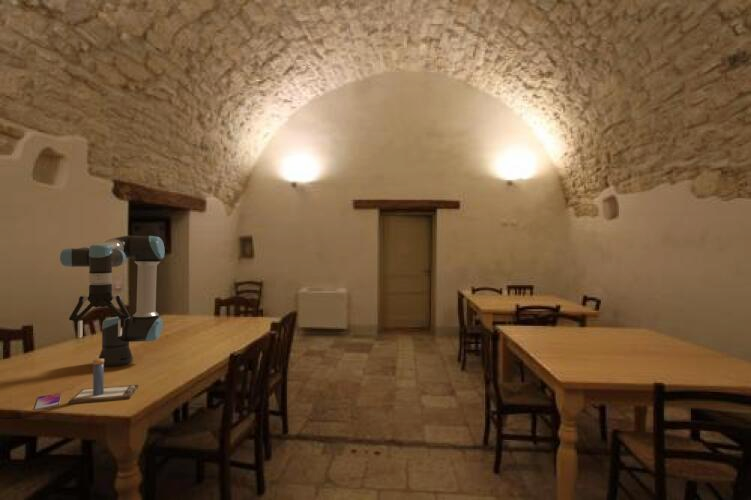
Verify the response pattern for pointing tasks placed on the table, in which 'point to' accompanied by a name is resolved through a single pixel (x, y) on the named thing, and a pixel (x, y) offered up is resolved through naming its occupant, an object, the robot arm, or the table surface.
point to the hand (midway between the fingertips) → (100, 336)
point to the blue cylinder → (98, 376)
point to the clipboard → (104, 394)
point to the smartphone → (48, 401)
